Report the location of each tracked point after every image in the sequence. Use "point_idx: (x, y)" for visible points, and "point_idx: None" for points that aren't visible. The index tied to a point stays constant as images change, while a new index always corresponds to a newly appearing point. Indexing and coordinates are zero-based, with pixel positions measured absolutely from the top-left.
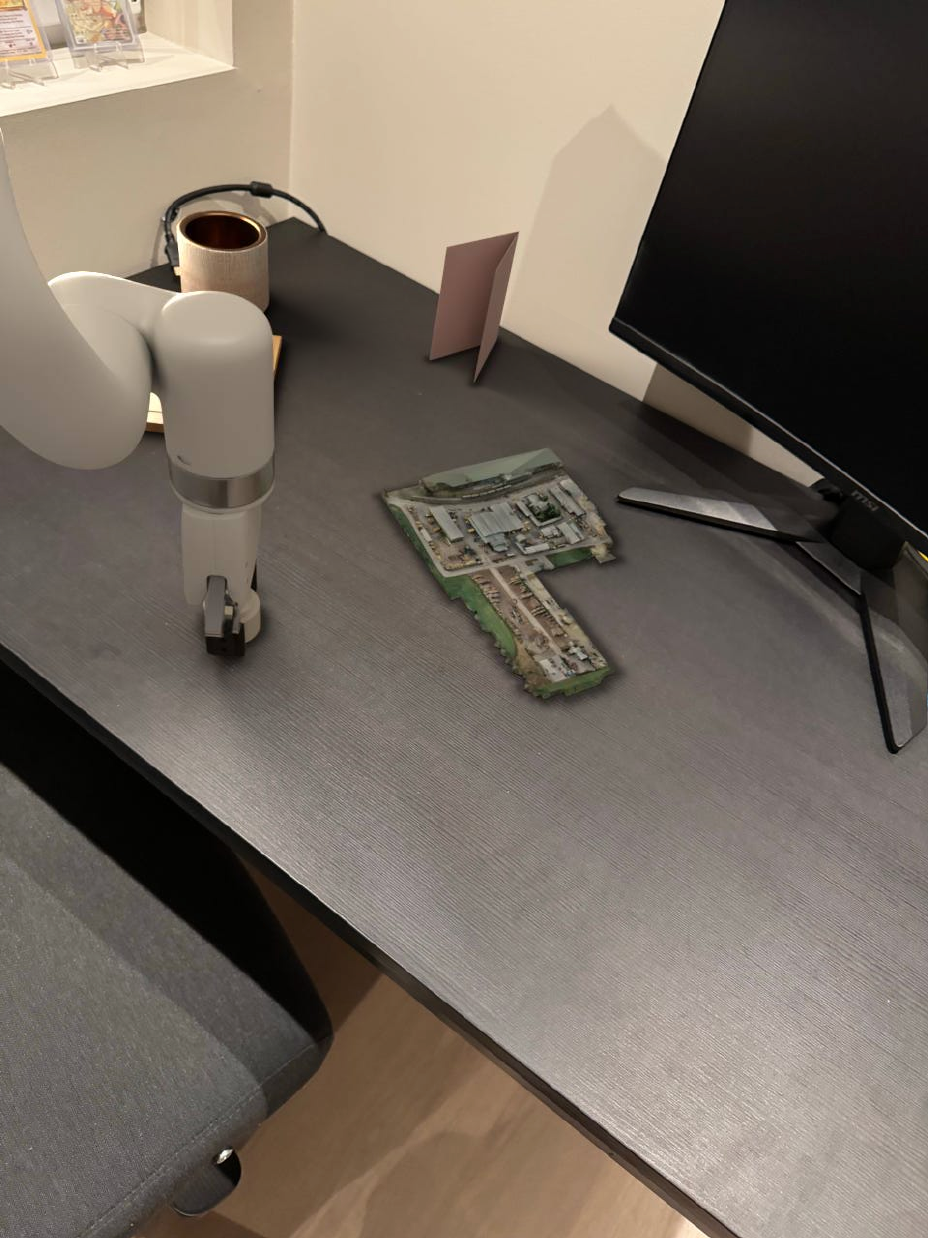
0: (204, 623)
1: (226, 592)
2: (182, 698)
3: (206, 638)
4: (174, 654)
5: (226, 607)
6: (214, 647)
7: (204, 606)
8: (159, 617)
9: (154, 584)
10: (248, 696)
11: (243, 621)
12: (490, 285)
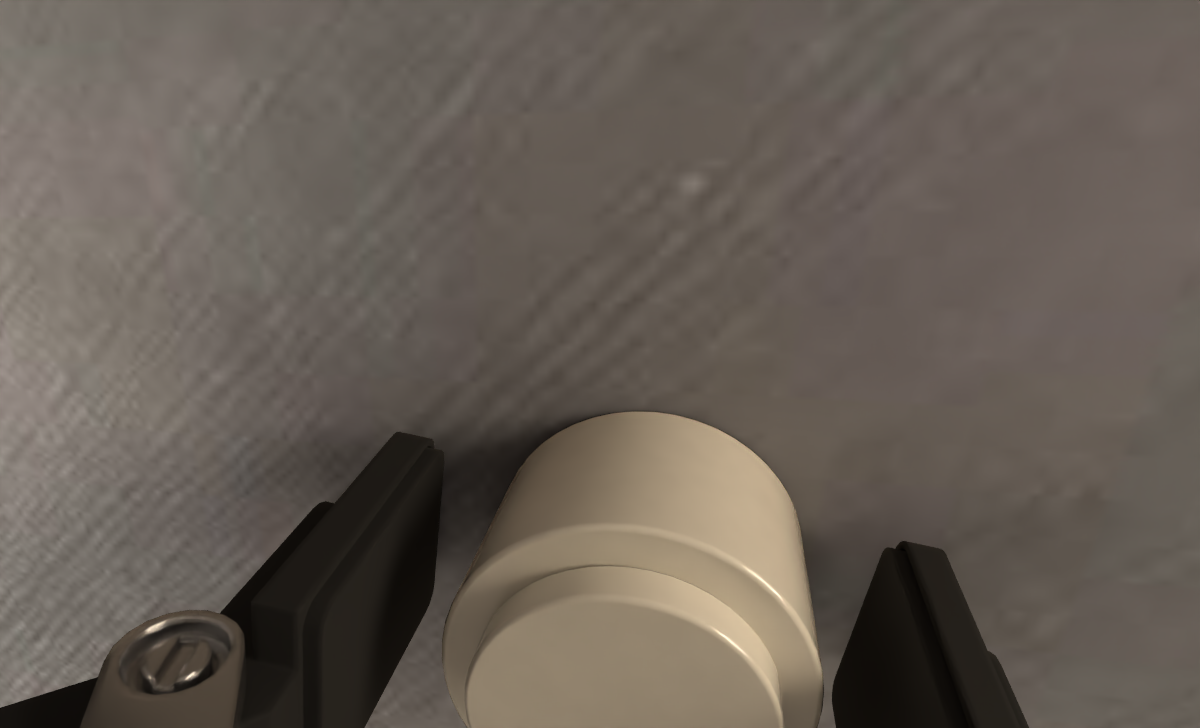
0: (93, 690)
1: (682, 708)
2: (154, 273)
3: (334, 509)
4: (441, 232)
5: (532, 691)
6: (289, 536)
7: (603, 531)
8: (755, 132)
9: (1112, 82)
10: (214, 556)
11: (465, 723)
12: None
